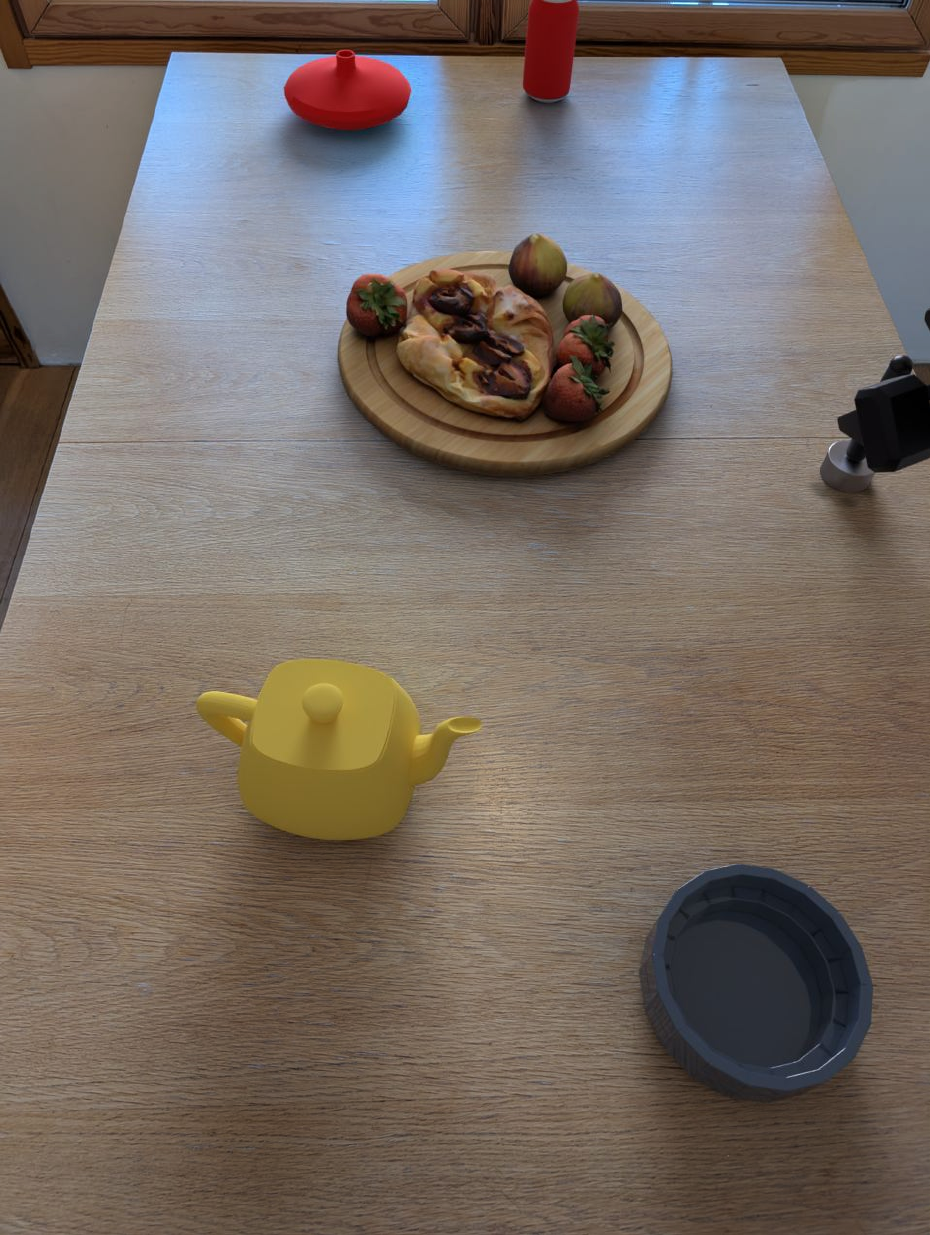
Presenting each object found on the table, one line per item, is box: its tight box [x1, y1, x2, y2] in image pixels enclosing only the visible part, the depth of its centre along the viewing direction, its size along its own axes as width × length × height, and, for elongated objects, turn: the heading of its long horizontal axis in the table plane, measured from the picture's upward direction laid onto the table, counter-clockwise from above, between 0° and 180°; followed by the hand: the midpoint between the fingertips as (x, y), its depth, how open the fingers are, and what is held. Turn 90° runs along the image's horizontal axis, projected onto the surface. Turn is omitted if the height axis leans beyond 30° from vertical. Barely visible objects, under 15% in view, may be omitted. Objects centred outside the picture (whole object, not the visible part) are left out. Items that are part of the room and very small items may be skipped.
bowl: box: [638, 863, 874, 1104], centre depth 55 cm, size 12×13×5 cm
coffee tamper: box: [819, 354, 914, 494], centre depth 78 cm, size 4×4×13 cm
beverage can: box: [522, 0, 580, 104], centre depth 118 cm, size 6×6×12 cm
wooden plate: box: [337, 233, 674, 477], centre depth 88 cm, size 32×32×8 cm
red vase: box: [283, 49, 412, 131], centre depth 115 cm, size 16×16×7 cm
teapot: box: [195, 658, 483, 841], centre depth 60 cm, size 18×11×11 cm, turn 82°
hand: (883, 407), depth 77 cm, fingers open, 9 cm apart
